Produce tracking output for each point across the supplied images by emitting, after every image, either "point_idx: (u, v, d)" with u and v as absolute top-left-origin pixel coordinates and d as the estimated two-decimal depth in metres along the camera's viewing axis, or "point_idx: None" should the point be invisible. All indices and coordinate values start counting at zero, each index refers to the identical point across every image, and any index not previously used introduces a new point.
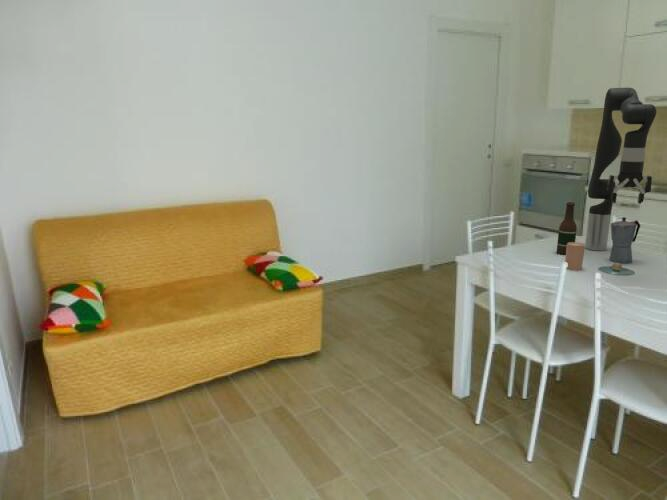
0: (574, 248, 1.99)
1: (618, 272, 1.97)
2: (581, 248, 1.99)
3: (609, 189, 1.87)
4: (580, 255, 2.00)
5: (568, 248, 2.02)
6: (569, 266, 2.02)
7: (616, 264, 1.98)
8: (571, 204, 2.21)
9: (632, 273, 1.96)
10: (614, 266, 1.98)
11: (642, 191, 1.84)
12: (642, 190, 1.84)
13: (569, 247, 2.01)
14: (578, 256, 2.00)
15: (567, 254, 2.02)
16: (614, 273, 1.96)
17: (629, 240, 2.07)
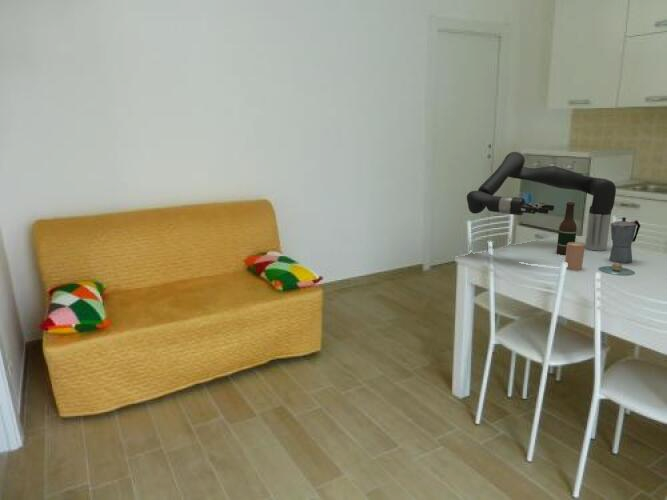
0: (574, 248, 1.99)
1: (618, 272, 1.97)
2: (581, 248, 1.99)
3: (533, 207, 2.02)
4: (580, 255, 2.00)
5: (568, 248, 2.02)
6: (569, 266, 2.02)
7: (616, 264, 1.98)
8: (571, 204, 2.21)
9: (632, 273, 1.96)
10: (614, 266, 1.98)
11: (542, 204, 2.11)
12: (541, 204, 2.11)
13: (569, 247, 2.01)
14: (578, 256, 2.00)
15: (567, 254, 2.02)
16: (614, 273, 1.96)
17: (629, 240, 2.07)
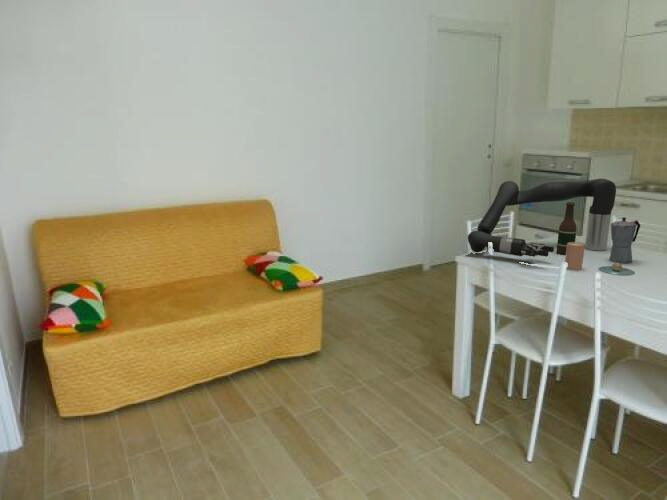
0: (574, 248, 1.99)
1: (618, 272, 1.97)
2: (581, 248, 1.99)
3: (533, 250, 2.06)
4: (580, 255, 2.00)
5: (568, 248, 2.02)
6: (569, 266, 2.02)
7: (616, 264, 1.98)
8: (571, 204, 2.21)
9: (632, 273, 1.96)
10: (614, 266, 1.98)
11: (542, 245, 2.14)
12: (541, 245, 2.14)
13: (569, 247, 2.01)
14: (578, 256, 2.00)
15: (567, 254, 2.02)
16: (614, 273, 1.96)
17: (629, 240, 2.07)
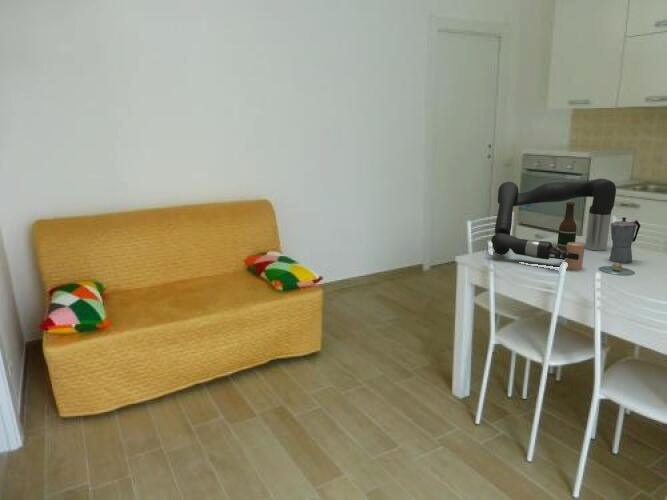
0: (574, 248, 1.99)
1: (618, 272, 1.97)
2: (581, 248, 1.99)
3: (563, 253, 2.00)
4: (580, 255, 2.00)
5: (568, 248, 2.02)
6: (569, 266, 2.02)
7: (616, 264, 1.98)
8: (571, 204, 2.21)
9: (632, 273, 1.96)
10: (614, 266, 1.98)
11: None
12: None
13: (569, 247, 2.01)
14: None
15: None
16: (614, 273, 1.96)
17: (629, 240, 2.07)
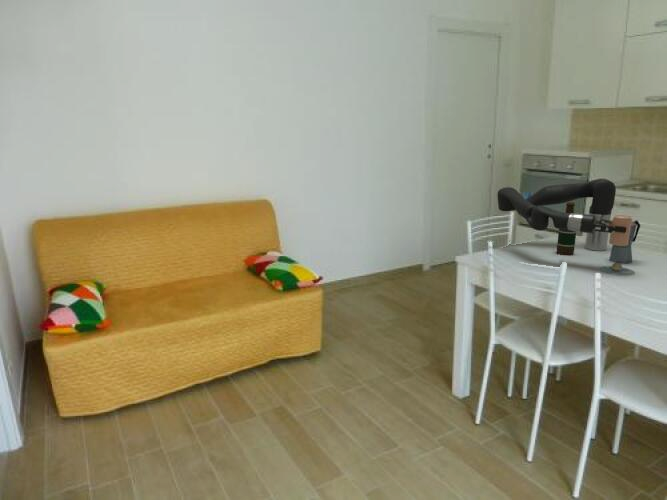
0: (621, 220, 1.92)
1: (618, 272, 1.97)
2: (629, 221, 1.91)
3: (610, 226, 1.92)
4: (627, 228, 1.92)
5: (614, 221, 1.94)
6: (615, 240, 1.95)
7: (616, 264, 1.98)
8: (571, 204, 2.21)
9: (632, 273, 1.96)
10: (614, 266, 1.98)
11: None
12: None
13: (616, 220, 1.93)
14: None
15: None
16: (614, 273, 1.96)
17: (629, 240, 2.07)
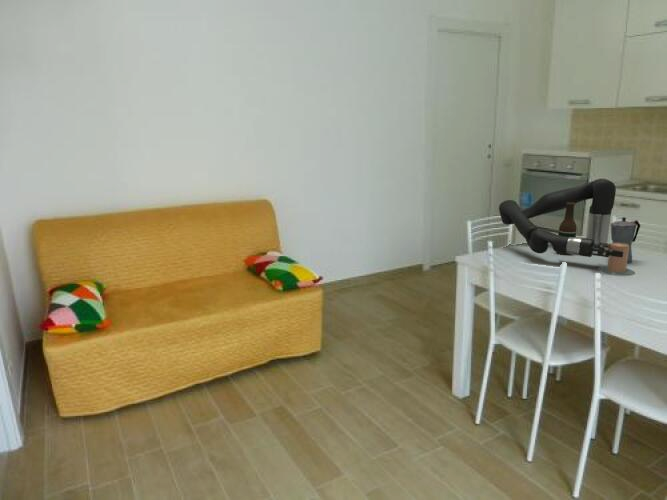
0: (619, 248, 1.94)
1: None
2: (626, 249, 1.94)
3: (607, 250, 1.94)
4: (625, 256, 1.95)
5: (612, 249, 1.97)
6: (613, 267, 1.97)
7: None
8: (571, 204, 2.21)
9: (632, 273, 1.96)
10: None
11: None
12: None
13: (613, 248, 1.96)
14: (623, 257, 1.95)
15: None
16: (614, 273, 1.96)
17: (629, 240, 2.07)
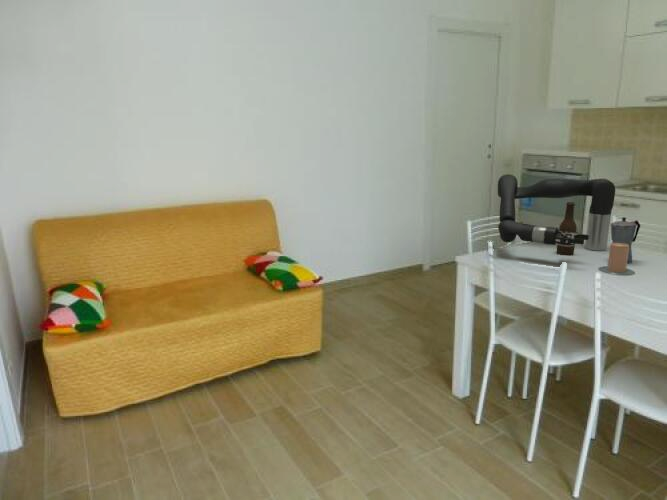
0: (619, 248, 1.94)
1: None
2: (626, 249, 1.94)
3: (569, 238, 2.02)
4: (625, 256, 1.95)
5: (612, 249, 1.97)
6: (613, 267, 1.97)
7: None
8: (571, 204, 2.21)
9: (632, 273, 1.96)
10: None
11: (576, 233, 2.10)
12: (575, 233, 2.10)
13: (613, 248, 1.96)
14: (623, 257, 1.95)
15: (611, 255, 1.97)
16: (614, 273, 1.96)
17: (629, 240, 2.07)
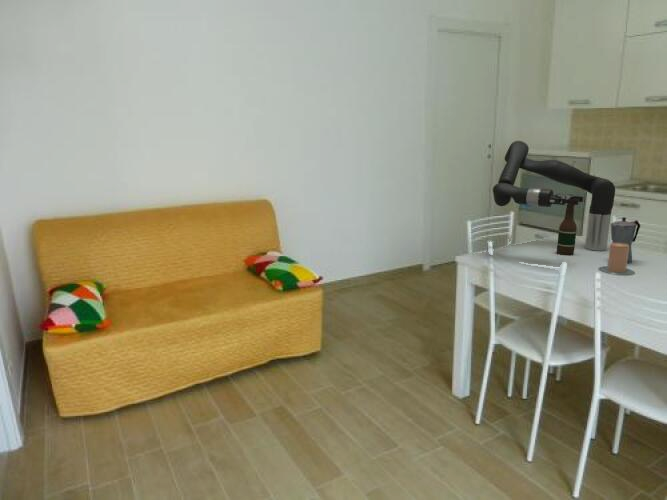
0: (619, 248, 1.94)
1: None
2: (626, 249, 1.94)
3: (563, 198, 2.00)
4: (625, 256, 1.95)
5: (612, 249, 1.97)
6: (613, 267, 1.97)
7: None
8: (571, 204, 2.21)
9: (632, 273, 1.96)
10: None
11: (571, 195, 2.08)
12: (570, 195, 2.08)
13: (613, 248, 1.96)
14: (623, 257, 1.95)
15: (611, 255, 1.97)
16: (614, 273, 1.96)
17: (629, 240, 2.07)
